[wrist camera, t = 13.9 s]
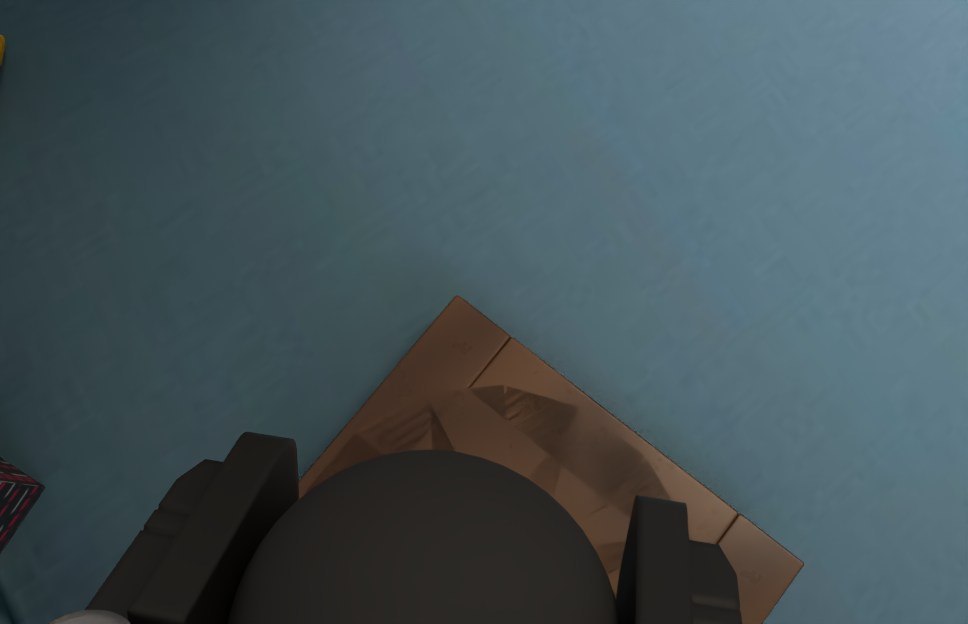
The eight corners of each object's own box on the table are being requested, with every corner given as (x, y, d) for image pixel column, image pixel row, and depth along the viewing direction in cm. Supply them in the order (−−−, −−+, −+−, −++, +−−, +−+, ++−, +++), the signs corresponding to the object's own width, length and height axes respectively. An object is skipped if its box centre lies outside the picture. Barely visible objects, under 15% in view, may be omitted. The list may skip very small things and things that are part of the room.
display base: (785, 562, 25) (805, 563, 23) (522, 929, 23) (520, 963, 21) (462, 311, 28) (456, 293, 26) (201, 622, 26) (174, 628, 24)
